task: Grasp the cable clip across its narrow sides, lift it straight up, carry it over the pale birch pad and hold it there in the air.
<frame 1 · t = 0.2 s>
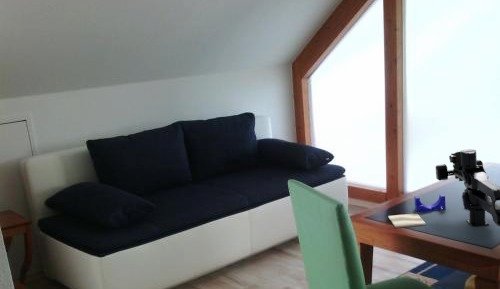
hand: (451, 165, 221), 17 cm above the table, tool horizontal, fingers open, 9 cm apart
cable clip: (430, 210, 219), on the table
watch: (471, 200, 225), on the table
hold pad: (406, 220, 210), on the table
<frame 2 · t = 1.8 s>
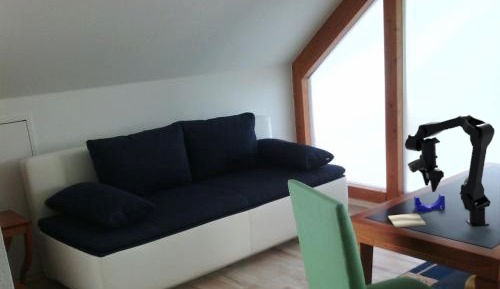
hand: (430, 188, 217), 9 cm above the table, tool pointing down, fingers open, 9 cm apart
nothing on the table moved.
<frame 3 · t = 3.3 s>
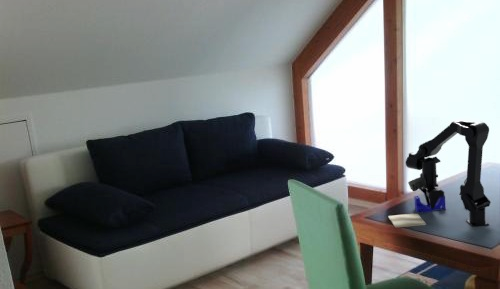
hand: (430, 206, 219), 1 cm above the table, tool pointing down, fingers closed on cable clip, 5 cm apart
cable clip: (430, 210, 219), on the table, touching gripper
everything else where it was.
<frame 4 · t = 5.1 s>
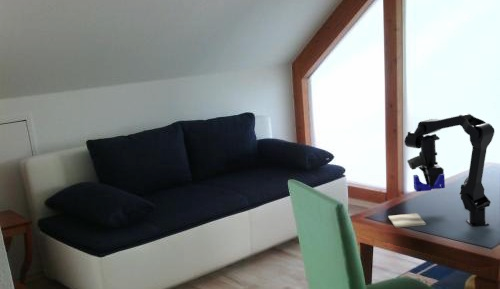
hand: (429, 185, 217), 11 cm above the table, tool pointing down, fingers closed on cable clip, 4 cm apart
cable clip: (429, 189, 217), point 9 cm above the table, touching gripper
everything else where it was.
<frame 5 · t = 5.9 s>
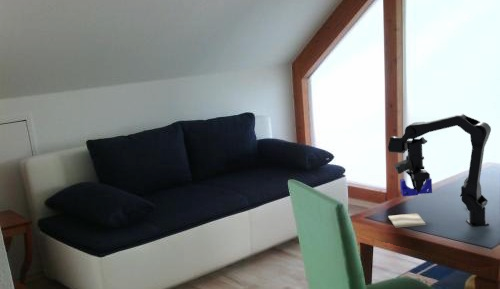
hand: (416, 190, 212), 11 cm above the table, tool pointing down, fingers closed on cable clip, 4 cm apart
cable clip: (416, 194, 212), point 9 cm above the table, touching gripper
everything else where it was.
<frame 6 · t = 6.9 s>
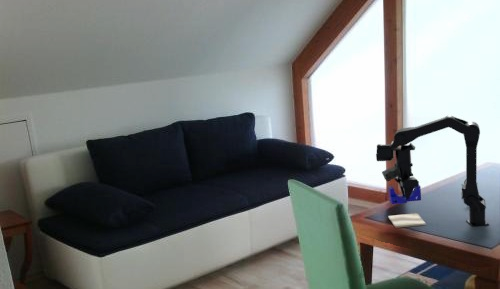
hand: (405, 197, 208), 10 cm above the table, tool pointing down, fingers closed on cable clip, 4 cm apart
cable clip: (405, 201, 208), point 8 cm above the table, touching gripper
everything else where it was.
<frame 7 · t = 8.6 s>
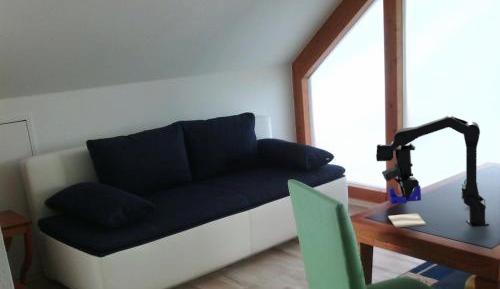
hand: (405, 197, 208), 10 cm above the table, tool pointing down, fingers closed on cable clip, 4 cm apart
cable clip: (405, 201, 208), point 8 cm above the table, touching gripper
everything else where it was.
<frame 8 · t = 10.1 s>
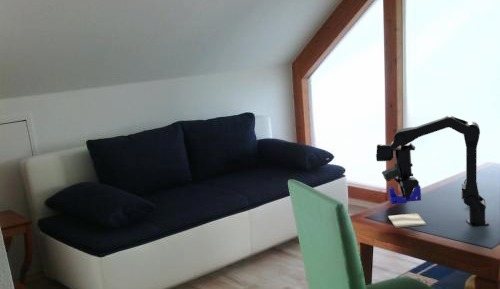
hand: (405, 197, 208), 10 cm above the table, tool pointing down, fingers closed on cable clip, 4 cm apart
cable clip: (405, 201, 208), point 8 cm above the table, touching gripper
everything else where it was.
at the end: the gripper is holding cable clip; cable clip inside the target area on the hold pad (0.0 cm from its centre), point 8.3 cm above the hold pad's base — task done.
